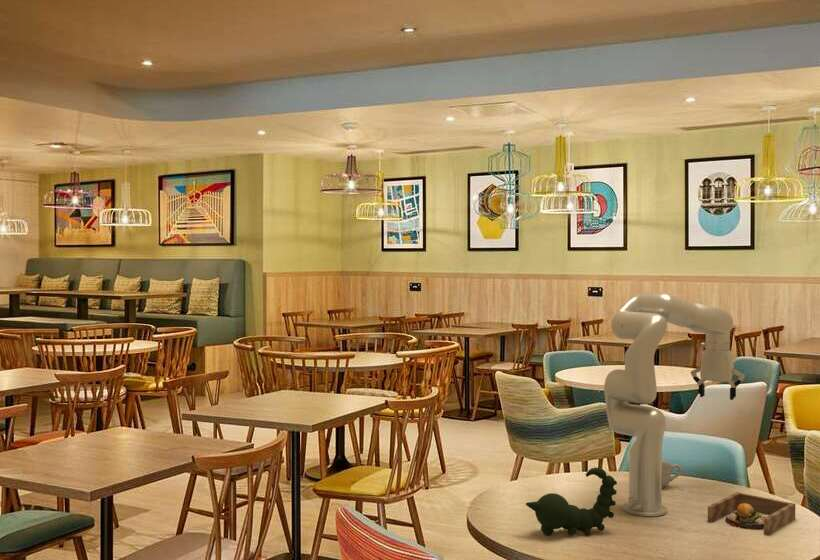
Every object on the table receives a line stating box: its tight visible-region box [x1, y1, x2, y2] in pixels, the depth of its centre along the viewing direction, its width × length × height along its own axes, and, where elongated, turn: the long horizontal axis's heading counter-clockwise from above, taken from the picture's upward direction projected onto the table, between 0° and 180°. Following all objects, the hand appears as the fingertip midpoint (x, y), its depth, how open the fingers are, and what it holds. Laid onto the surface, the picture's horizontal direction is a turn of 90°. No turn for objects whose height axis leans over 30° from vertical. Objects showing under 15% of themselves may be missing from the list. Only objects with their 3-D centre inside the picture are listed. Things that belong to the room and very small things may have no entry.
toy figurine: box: [525, 467, 618, 537], centre depth 237 cm, size 10×19×26 cm
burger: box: [725, 501, 767, 531], centre depth 246 cm, size 12×12×8 cm
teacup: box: [662, 460, 683, 488], centre depth 285 cm, size 14×11×8 cm
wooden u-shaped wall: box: [707, 491, 796, 536], centre depth 248 cm, size 20×17×4 cm
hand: (717, 397), depth 285 cm, fingers open, 9 cm apart
